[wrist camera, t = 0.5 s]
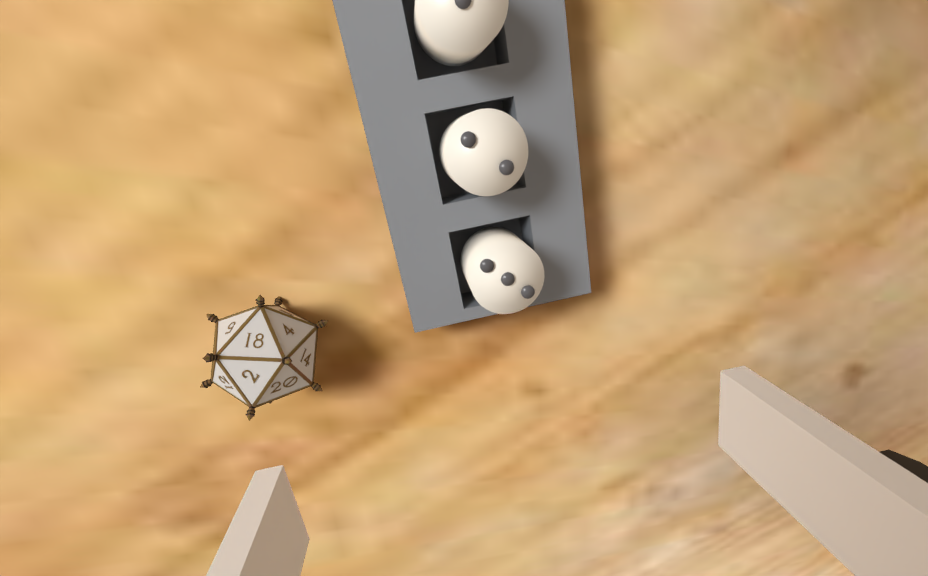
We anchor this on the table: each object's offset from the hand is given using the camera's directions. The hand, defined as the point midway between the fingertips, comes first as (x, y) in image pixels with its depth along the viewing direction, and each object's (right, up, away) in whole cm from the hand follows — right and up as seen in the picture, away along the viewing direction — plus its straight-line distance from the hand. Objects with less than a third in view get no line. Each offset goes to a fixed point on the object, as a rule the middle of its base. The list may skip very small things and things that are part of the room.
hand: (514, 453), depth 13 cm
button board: (-1, +15, +20) cm, 26 cm away
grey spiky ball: (-17, +1, +23) cm, 29 cm away
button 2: (-1, +15, +18) cm, 23 cm away
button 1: (-2, +22, +15) cm, 27 cm away
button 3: (+1, +7, +20) cm, 22 cm away
